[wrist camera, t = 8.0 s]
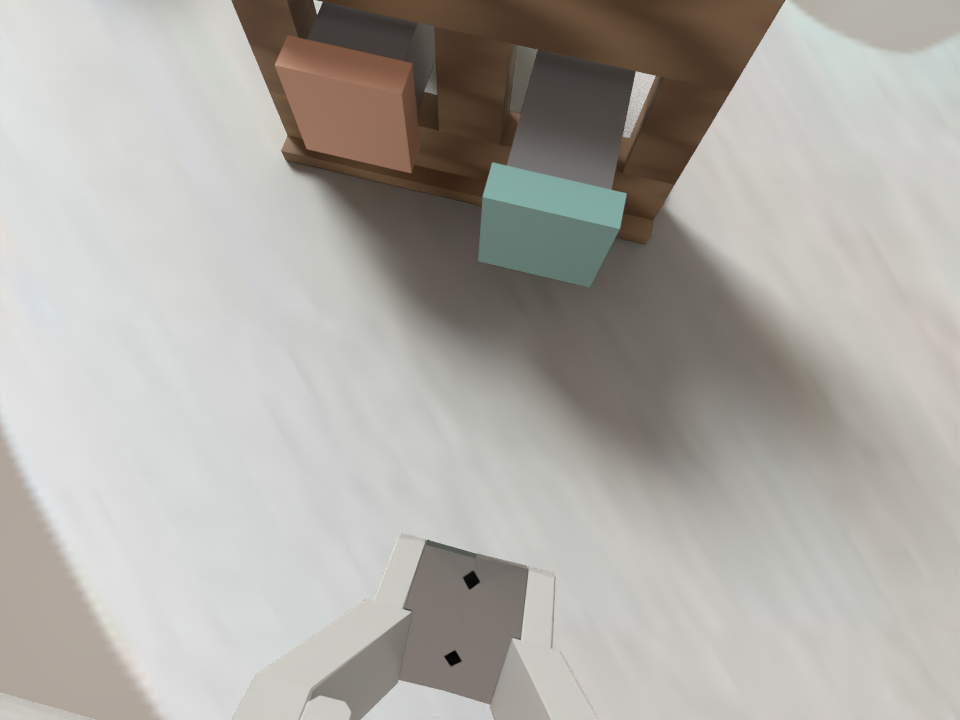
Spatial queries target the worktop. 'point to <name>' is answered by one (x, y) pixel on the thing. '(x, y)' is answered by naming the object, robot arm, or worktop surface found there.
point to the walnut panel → (489, 75)
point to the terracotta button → (359, 84)
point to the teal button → (559, 173)
